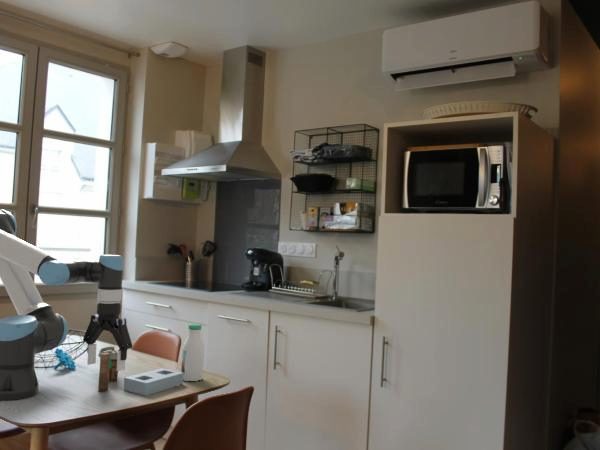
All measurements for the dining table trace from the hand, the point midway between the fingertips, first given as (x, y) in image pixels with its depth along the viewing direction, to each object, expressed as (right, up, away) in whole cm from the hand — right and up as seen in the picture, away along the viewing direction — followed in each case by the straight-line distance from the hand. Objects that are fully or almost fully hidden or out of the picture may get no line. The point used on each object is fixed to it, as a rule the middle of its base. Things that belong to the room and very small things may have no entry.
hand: (105, 367), depth 181 cm
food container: (-5, -8, +15) cm, 18 cm away
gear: (-23, -7, +24) cm, 34 cm away
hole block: (+14, -9, +8) cm, 18 cm away
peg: (-1, -8, 0) cm, 8 cm away
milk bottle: (+24, -10, +20) cm, 33 cm away
